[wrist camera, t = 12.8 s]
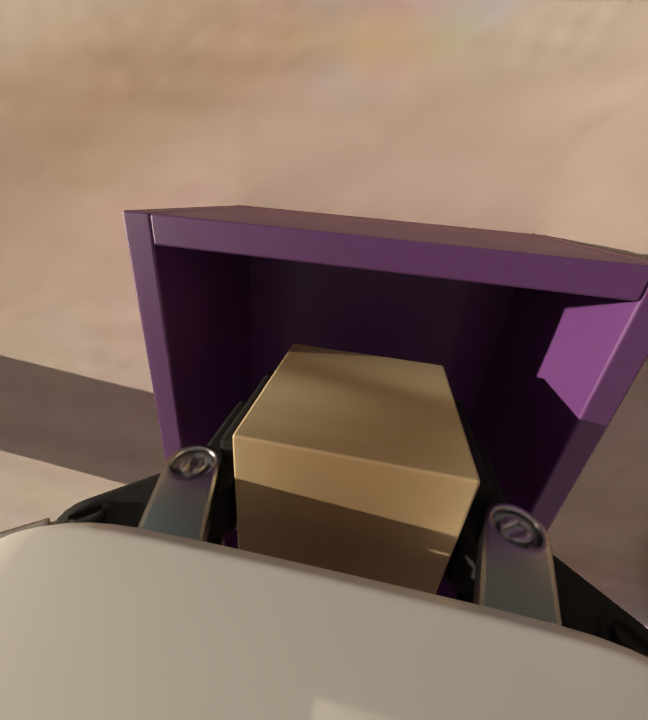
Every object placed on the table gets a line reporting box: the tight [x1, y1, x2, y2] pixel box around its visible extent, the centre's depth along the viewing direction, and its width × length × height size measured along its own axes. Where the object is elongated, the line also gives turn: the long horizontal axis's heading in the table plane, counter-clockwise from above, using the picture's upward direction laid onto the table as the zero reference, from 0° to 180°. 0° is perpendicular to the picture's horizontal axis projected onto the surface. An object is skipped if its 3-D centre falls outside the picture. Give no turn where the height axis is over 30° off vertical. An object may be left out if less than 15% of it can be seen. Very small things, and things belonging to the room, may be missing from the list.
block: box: [232, 344, 480, 594], centre depth 10 cm, size 5×5×5 cm
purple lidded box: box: [123, 205, 648, 598], centre depth 15 cm, size 17×14×8 cm
